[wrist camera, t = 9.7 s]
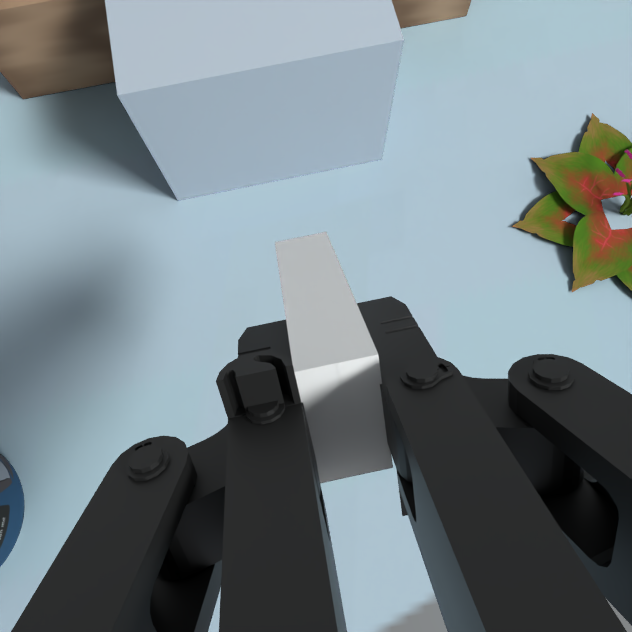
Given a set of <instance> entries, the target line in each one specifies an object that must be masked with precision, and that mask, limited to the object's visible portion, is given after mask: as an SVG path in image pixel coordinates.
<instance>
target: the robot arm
mask: <svg viewBox="0 0 632 632" xmlns="http://www.w3.org/2000/svg"><path fill="white" fill-rule="evenodd" d="M275 247H276V254H277V261H278V268H279V275H280V281H281V288H282V295H283V302H284V309H285V316H286V320H282V321H277V322H272V323H268V324H263V325H258V326H253V327H248V328H247V329H246V330H245V332H244V333H243V334H242V336H241V337H240V339H239V340H238V358H237V359H235V360H234V361H232V362H230V363H228V364H227V365H226V366H225V367H224V368H223V369H222V370H221V371H220V372H219V375H218V377H217V380H216V383H217V386H218V389H219V392H220V395H221V398H222V401H223V404H224V407H225V411H226V414H227V417H228V424H227V425H226V426H225V427H224V428H223V429H222V430H220V431H219V432H218V433H216V434H215V435H213V436H211V437H209V438H207V439H206V440H203V441H201V442H199V443H197V444H195V445H192V446H190V447H188V448H187V447H186V445H185V443H184V442H183V441H181V440H180V439H178V438H176V437H170V436H159V437H154V438H149V439H146V440H144V441H142V442H139V443H137V444H135V445H133V446H132V447H130V448H129V449H128V450H126V451H125V452H123V453H122V454H121V455H120V456H119V457H118V459H117V460H116V461H115V462H114V463H113V464H112V466H111V467H110V469H109V471H108V472H107V474H106V476H105V477H104V479H103V481H102V482H101V484H100V486H99V487H98V489H97V491H96V492H95V494H94V496H93V497H92V499H91V501H90V502H89V504H88V505H87V507H86V509H85V510H84V512H83V514H82V515H81V517H80V519H79V520H78V522H77V524H76V525H75V527H74V529H73V530H72V532H71V534H70V535H69V537H68V539H67V540H66V542H65V544H64V545H63V547H62V548H61V550H60V552H59V553H58V555H57V557H56V558H55V560H54V562H53V563H52V565H51V567H50V568H49V570H48V572H47V573H46V575H45V577H44V578H43V580H42V582H41V583H40V585H39V587H38V588H37V590H36V591H35V593H34V595H33V596H32V598H31V600H30V601H29V603H28V605H27V606H26V608H25V610H24V611H23V613H22V615H21V616H20V618H19V620H18V621H17V623H16V625H15V626H14V628H13V630H12V631H11V632H208V629H209V626H210V622H211V619H212V615H213V612H214V608H215V605H216V601H217V598H218V594H219V591H220V587H221V599H220V622H219V632H347V629H346V623H345V618H344V612H343V606H342V600H341V595H340V589H339V583H338V577H337V572H336V566H335V560H334V554H333V549H332V543H331V537H330V532H329V526H328V520H327V514H326V509H325V503H324V499H323V495H322V490H321V486H320V483H324V482H328V481H333V480H338V479H342V478H347V477H351V476H356V475H361V474H365V473H370V472H375V471H379V470H384V469H389V468H393V464H392V457H393V460H394V463H395V465H396V468H397V476H398V484H399V492H400V500H401V508H402V516H405V515H408V516H409V519H410V522H411V525H412V528H413V531H414V534H415V537H416V540H417V543H418V546H419V549H420V552H421V555H422V558H423V561H424V564H425V567H426V569H427V572H428V575H429V578H430V581H431V584H432V587H433V590H434V593H435V596H436V599H437V602H438V604H439V608H440V611H441V614H442V616H443V620H444V622H445V625H446V628H447V631H448V632H627V631H626V630H625V628H624V627H623V625H622V624H621V622H620V620H619V619H618V617H617V616H616V614H615V613H614V611H613V610H612V608H611V607H610V605H609V604H608V602H607V600H608V601H609V602H610V603H611V604H612V605H613V606H614V607H615V608H616V609H617V610H618V612H619V613H620V614H621V615H622V616H623V617H624V618H625V619H626V620H627V621H628V622H629V623H630V624H631V625H632V394H630V393H629V392H627V391H626V390H624V389H622V388H621V387H619V386H617V385H616V384H614V383H613V382H611V381H609V380H608V379H606V378H605V377H603V376H601V375H600V374H598V373H597V372H595V371H593V370H592V369H590V368H588V367H587V366H585V365H584V364H582V363H580V362H577V361H575V360H573V359H571V358H568V357H563V356H558V355H553V354H537V355H532V356H528V357H524V358H522V359H520V360H519V361H517V362H515V363H514V364H513V365H512V366H511V368H510V370H509V371H508V379H482V378H471V377H467V376H462V374H461V373H460V371H459V370H458V369H457V368H456V367H455V366H454V365H453V364H452V363H451V362H449V361H446V360H444V359H441V358H438V357H437V356H436V354H435V352H434V351H433V349H432V347H431V346H430V344H429V342H428V341H427V339H426V337H425V336H424V334H423V333H422V331H421V329H420V328H419V327H418V324H417V323H416V321H415V319H414V318H413V317H412V314H411V313H410V311H409V309H408V308H407V306H406V305H405V304H404V303H402V302H400V301H398V300H397V299H395V298H393V297H386V298H381V299H376V300H371V301H367V302H362V303H356V301H355V298H354V296H353V294H352V291H351V289H350V286H349V284H348V282H347V279H346V277H345V275H344V272H343V270H342V268H341V265H340V263H339V260H338V258H337V256H336V253H335V251H334V249H333V246H332V244H331V242H330V239H329V237H328V234H327V232H322V233H318V234H313V235H308V236H303V237H298V238H293V239H288V240H283V241H278V242H275ZM391 454H392V456H391ZM605 598H606V599H607V600H606V599H605Z"/></svg>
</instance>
